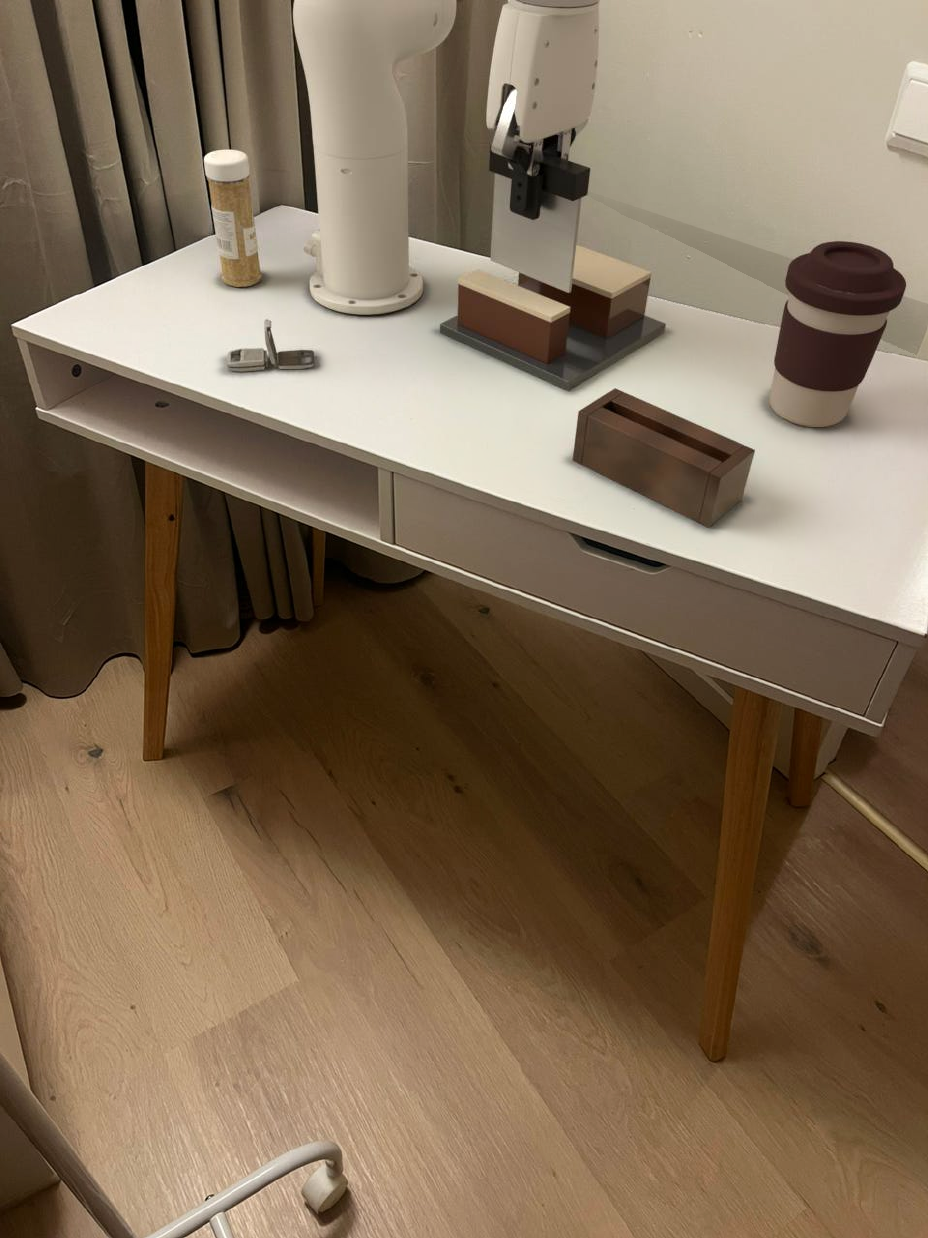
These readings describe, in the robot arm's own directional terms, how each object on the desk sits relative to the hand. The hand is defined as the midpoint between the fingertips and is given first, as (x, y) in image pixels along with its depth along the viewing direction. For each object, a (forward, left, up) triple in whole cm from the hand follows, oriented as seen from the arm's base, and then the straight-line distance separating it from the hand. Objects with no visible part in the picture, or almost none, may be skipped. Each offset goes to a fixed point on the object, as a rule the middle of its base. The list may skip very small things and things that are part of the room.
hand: (534, 209), depth 93 cm
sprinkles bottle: (-33, -11, -14) cm, 37 cm away
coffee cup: (+27, +9, -14) cm, 32 cm away
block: (+23, -11, -14) cm, 29 cm away
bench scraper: (0, 0, -7) cm, 7 cm away
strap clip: (-16, -21, -14) cm, 30 cm away
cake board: (0, +4, -14) cm, 15 cm away
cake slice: (-1, -1, -13) cm, 13 cm away
